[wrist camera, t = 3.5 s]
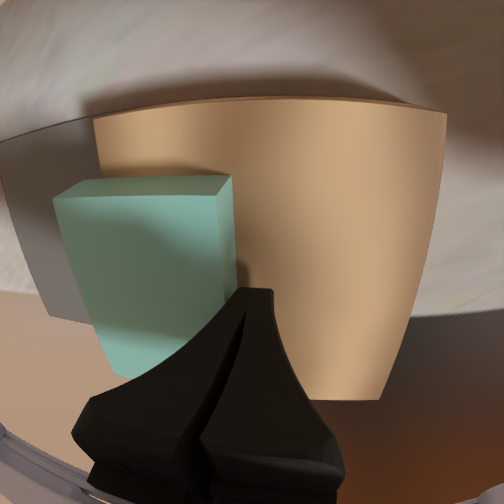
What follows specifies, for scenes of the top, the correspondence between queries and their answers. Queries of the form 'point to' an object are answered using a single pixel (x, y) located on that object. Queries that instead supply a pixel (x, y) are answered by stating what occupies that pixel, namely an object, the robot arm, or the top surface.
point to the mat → (49, 204)
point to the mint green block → (149, 260)
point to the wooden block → (309, 213)
